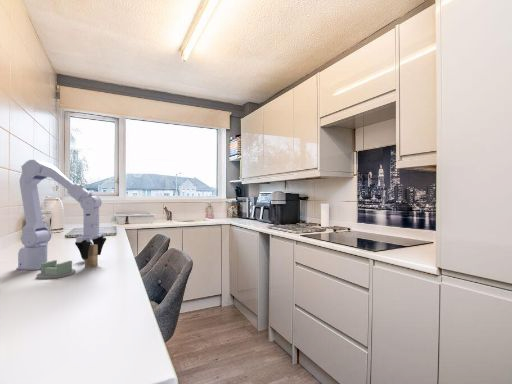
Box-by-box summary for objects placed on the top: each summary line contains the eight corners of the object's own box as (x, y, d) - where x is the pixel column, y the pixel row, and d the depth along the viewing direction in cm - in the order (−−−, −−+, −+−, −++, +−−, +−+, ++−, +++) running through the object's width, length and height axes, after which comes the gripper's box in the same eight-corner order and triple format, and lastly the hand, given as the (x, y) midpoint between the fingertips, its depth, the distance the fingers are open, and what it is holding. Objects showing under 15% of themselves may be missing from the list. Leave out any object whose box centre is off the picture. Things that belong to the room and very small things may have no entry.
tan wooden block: (84, 266, 117) (84, 245, 117) (89, 265, 120) (89, 244, 120) (93, 267, 117) (93, 245, 117) (97, 265, 119) (97, 244, 119)
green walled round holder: (27, 278, 101) (27, 265, 101) (56, 269, 113) (56, 258, 113) (57, 279, 99) (57, 266, 99) (83, 270, 111) (83, 259, 111)
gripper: (87, 226, 111) (87, 261, 110) (111, 222, 125) (111, 253, 125) (71, 226, 112) (71, 260, 111) (96, 222, 126) (96, 253, 126)
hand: (91, 256), depth 118 cm, fingers open, 7 cm apart
